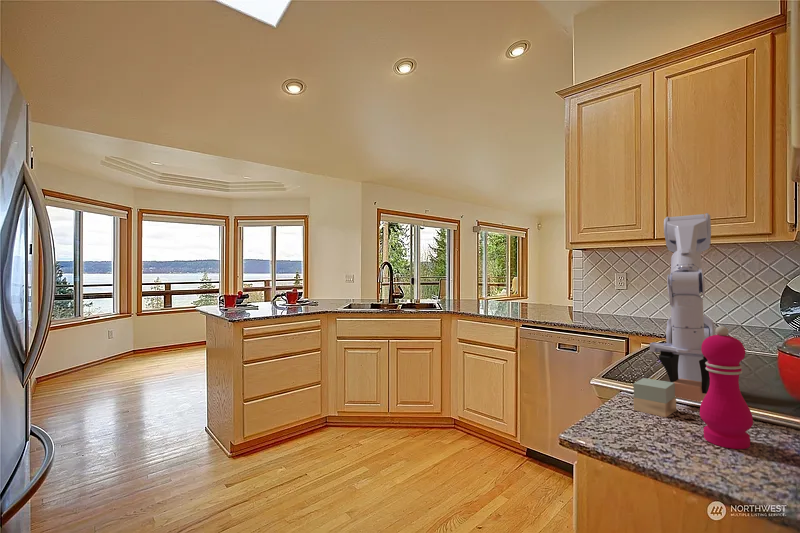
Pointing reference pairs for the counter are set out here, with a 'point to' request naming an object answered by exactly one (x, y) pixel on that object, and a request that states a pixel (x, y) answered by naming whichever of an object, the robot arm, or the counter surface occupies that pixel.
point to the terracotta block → (689, 390)
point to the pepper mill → (725, 393)
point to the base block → (655, 407)
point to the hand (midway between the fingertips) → (689, 389)
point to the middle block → (654, 390)
